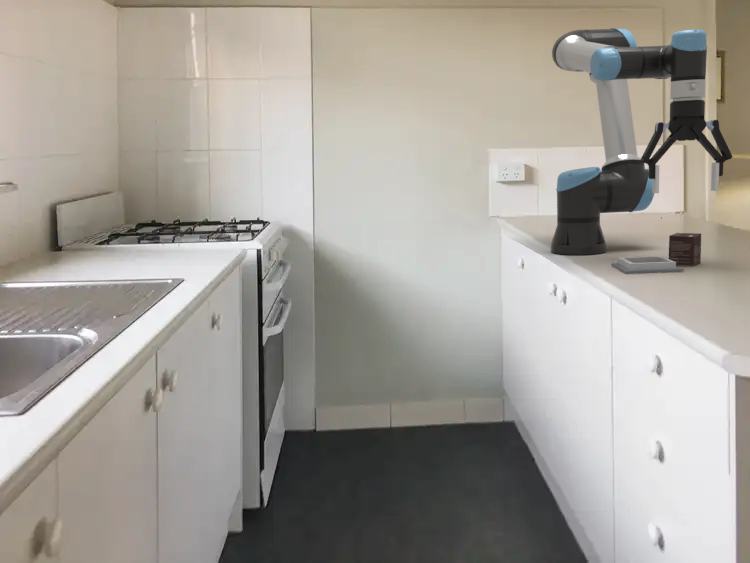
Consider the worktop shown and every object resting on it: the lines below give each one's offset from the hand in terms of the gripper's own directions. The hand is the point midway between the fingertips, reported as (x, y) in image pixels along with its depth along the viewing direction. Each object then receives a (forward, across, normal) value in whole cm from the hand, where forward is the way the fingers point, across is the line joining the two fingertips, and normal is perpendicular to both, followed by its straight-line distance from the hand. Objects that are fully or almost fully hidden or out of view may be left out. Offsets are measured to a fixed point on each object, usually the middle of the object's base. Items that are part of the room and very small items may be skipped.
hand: (684, 192), depth 181 cm
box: (+18, +1, +3) cm, 18 cm away
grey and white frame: (+18, -9, -2) cm, 20 cm away
